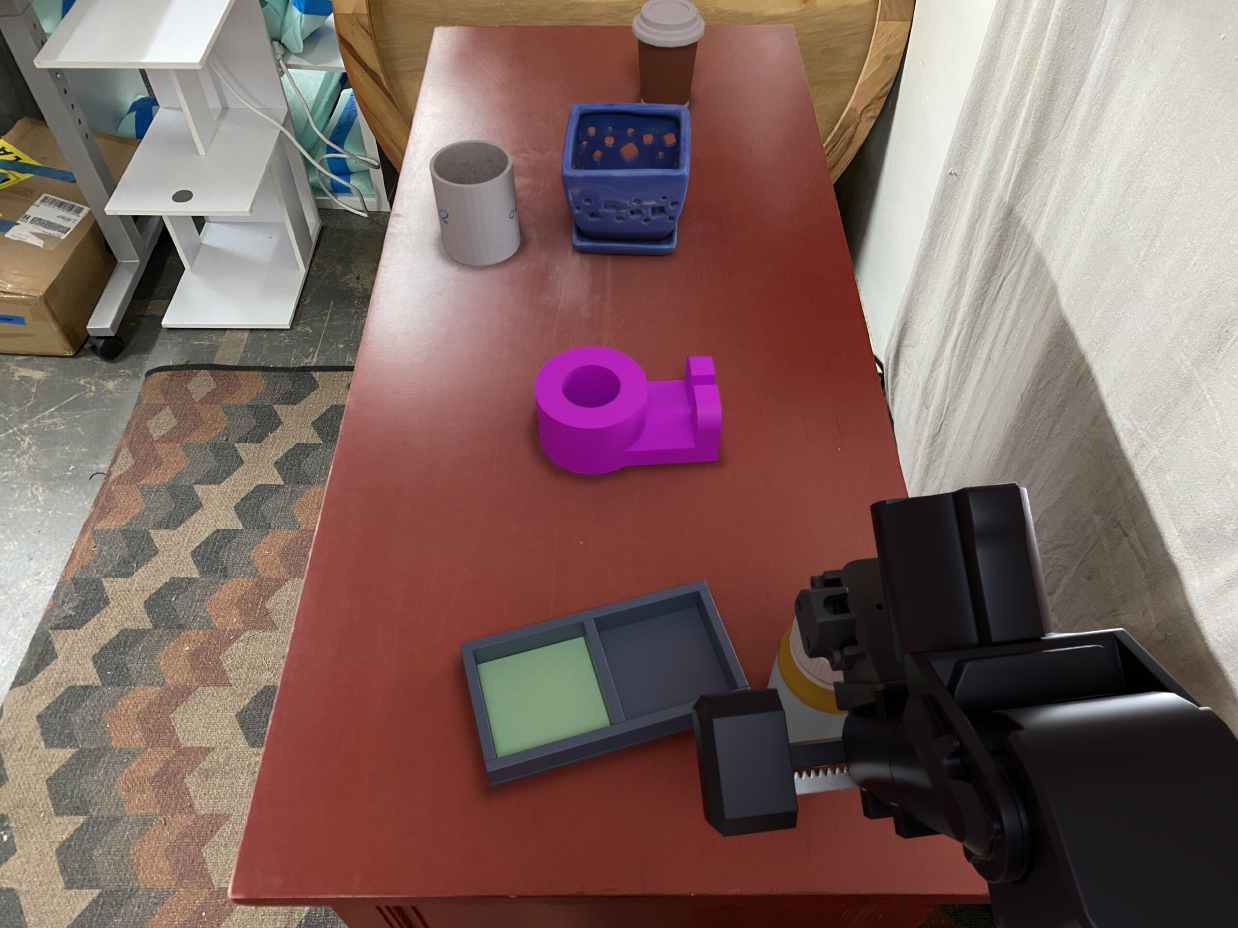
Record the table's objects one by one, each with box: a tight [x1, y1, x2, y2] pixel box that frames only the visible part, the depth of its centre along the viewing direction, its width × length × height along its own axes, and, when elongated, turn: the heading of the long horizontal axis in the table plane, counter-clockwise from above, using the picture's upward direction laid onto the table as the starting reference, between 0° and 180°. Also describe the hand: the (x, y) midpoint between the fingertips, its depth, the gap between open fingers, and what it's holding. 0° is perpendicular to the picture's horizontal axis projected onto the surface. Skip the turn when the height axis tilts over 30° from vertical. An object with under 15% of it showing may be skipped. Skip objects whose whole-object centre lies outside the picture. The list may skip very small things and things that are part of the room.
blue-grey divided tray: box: [459, 579, 751, 788], centre depth 68 cm, size 10×19×3 cm, turn 107°
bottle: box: [766, 615, 848, 768], centre depth 62 cm, size 7×7×15 cm
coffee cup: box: [631, 0, 706, 108], centre depth 117 cm, size 9×9×12 cm
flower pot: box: [561, 102, 692, 256], centre depth 100 cm, size 13×13×12 cm
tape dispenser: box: [534, 346, 723, 476], centre depth 83 cm, size 16×10×6 cm, turn 94°
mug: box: [428, 139, 522, 267], centre depth 100 cm, size 12×9×10 cm
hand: (843, 726), depth 51 cm, fingers open, 9 cm apart
